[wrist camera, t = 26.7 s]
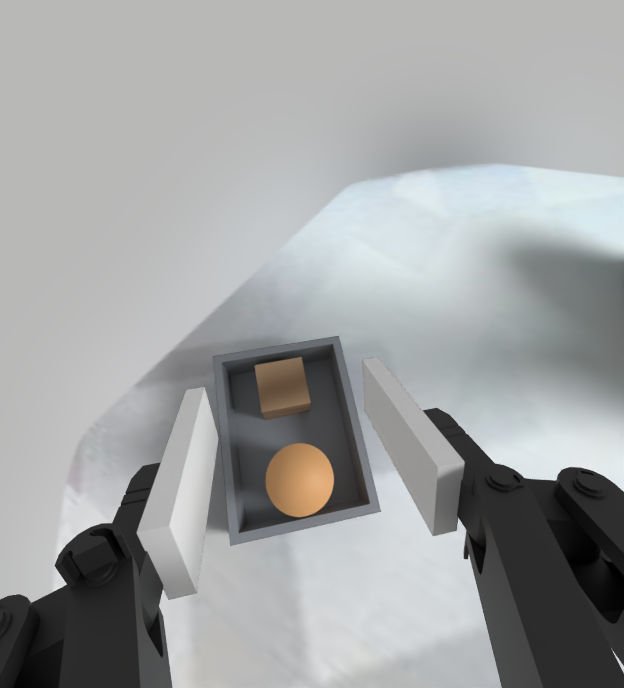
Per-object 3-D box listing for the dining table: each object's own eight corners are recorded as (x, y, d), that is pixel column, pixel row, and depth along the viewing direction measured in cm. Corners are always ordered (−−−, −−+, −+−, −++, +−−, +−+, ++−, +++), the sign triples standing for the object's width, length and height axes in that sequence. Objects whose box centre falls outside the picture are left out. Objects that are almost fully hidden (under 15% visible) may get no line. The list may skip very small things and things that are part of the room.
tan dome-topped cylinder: (287, 444, 36) (283, 432, 25) (329, 464, 36) (344, 460, 25) (267, 489, 35) (253, 497, 23) (310, 510, 34) (317, 529, 23)
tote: (224, 372, 40) (213, 356, 34) (332, 354, 42) (338, 335, 36) (241, 533, 34) (230, 545, 28) (367, 505, 35) (380, 511, 30)
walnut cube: (259, 377, 39) (254, 365, 34) (300, 370, 40) (301, 356, 35) (265, 419, 37) (261, 412, 33) (308, 411, 38) (310, 402, 33)
